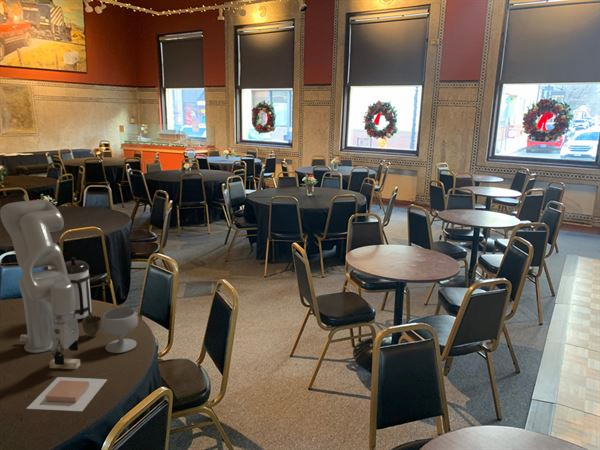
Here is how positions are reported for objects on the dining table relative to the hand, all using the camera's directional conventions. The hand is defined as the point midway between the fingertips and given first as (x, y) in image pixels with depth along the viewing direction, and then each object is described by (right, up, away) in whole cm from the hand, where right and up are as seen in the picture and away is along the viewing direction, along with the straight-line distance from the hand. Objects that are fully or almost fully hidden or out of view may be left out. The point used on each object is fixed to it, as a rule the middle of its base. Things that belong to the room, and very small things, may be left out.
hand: (66, 357), depth 166 cm
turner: (+3, -5, 0) cm, 6 cm away
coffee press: (-17, +5, +43) cm, 46 cm away
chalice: (+13, -1, +19) cm, 23 cm away
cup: (-3, +1, +27) cm, 27 cm away
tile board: (+9, -9, -15) cm, 20 cm away
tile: (+9, -5, -12) cm, 16 cm away
